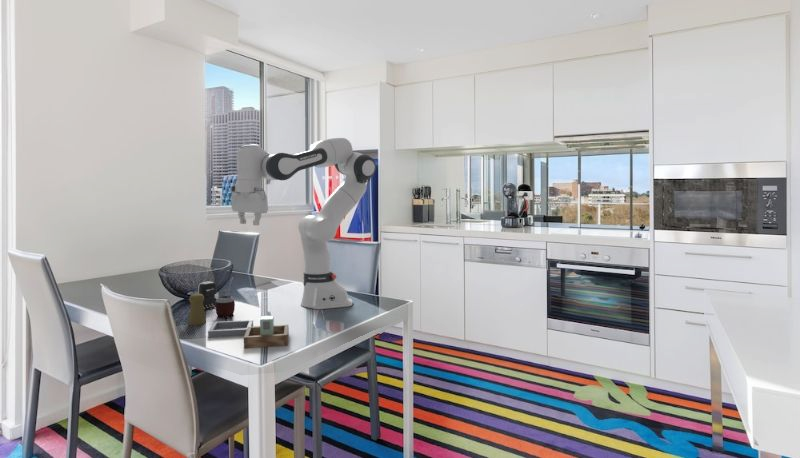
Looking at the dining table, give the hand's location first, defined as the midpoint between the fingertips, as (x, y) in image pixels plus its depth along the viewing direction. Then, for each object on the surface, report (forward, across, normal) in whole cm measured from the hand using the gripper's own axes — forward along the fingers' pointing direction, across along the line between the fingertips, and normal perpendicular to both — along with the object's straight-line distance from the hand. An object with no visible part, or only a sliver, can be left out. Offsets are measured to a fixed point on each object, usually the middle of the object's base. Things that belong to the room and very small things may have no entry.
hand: (249, 224), depth 170 cm
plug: (+37, -26, +9) cm, 46 cm away
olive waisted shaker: (+37, +11, +16) cm, 42 cm away
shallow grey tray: (+37, -8, +12) cm, 40 cm away
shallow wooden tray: (+37, -26, +9) cm, 46 cm away
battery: (+37, +27, +4) cm, 46 cm away
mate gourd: (+37, +11, +4) cm, 39 cm away
